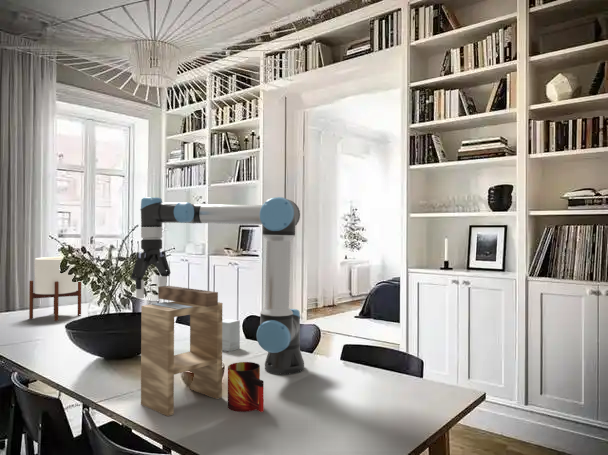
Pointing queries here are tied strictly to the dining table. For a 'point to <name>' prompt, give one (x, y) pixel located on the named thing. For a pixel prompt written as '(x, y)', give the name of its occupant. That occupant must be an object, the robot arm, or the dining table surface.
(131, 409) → the dining table surface
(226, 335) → the supplement box
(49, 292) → the plant pot with stand
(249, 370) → the mug
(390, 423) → the dining table surface
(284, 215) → the robot arm
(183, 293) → the walnut rod
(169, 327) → the oak stand
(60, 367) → the dining table surface
